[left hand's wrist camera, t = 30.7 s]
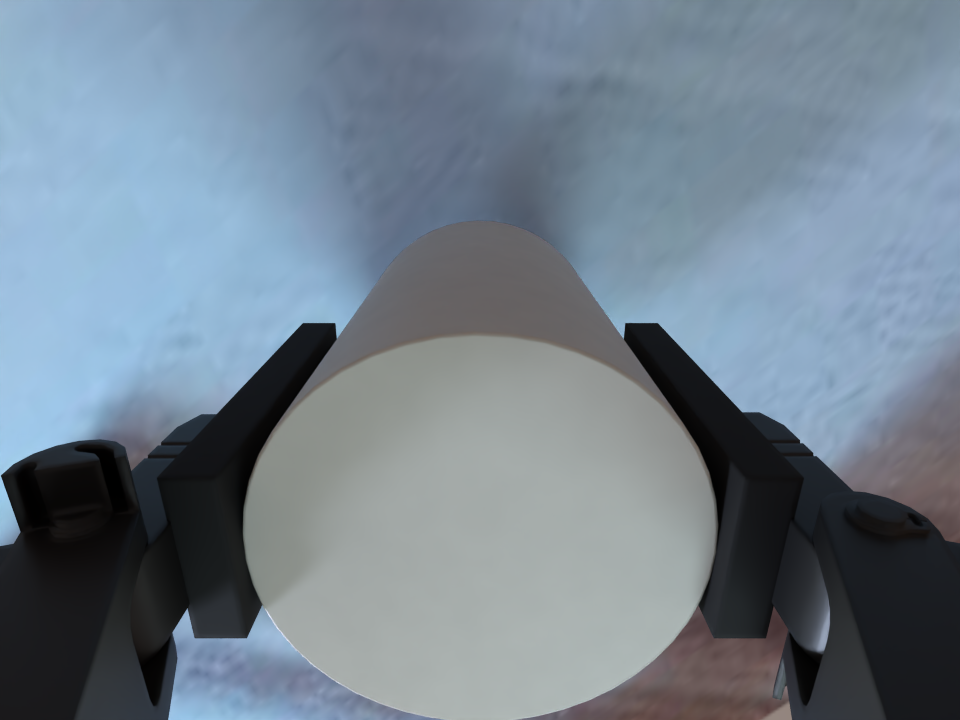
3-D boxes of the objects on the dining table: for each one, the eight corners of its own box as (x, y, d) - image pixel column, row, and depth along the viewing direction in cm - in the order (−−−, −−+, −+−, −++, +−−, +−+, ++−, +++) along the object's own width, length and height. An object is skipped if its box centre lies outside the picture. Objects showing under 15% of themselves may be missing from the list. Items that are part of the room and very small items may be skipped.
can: (345, 239, 17) (171, 373, 7) (581, 202, 16) (719, 293, 7) (393, 444, 19) (311, 743, 10) (599, 416, 19) (720, 699, 9)
